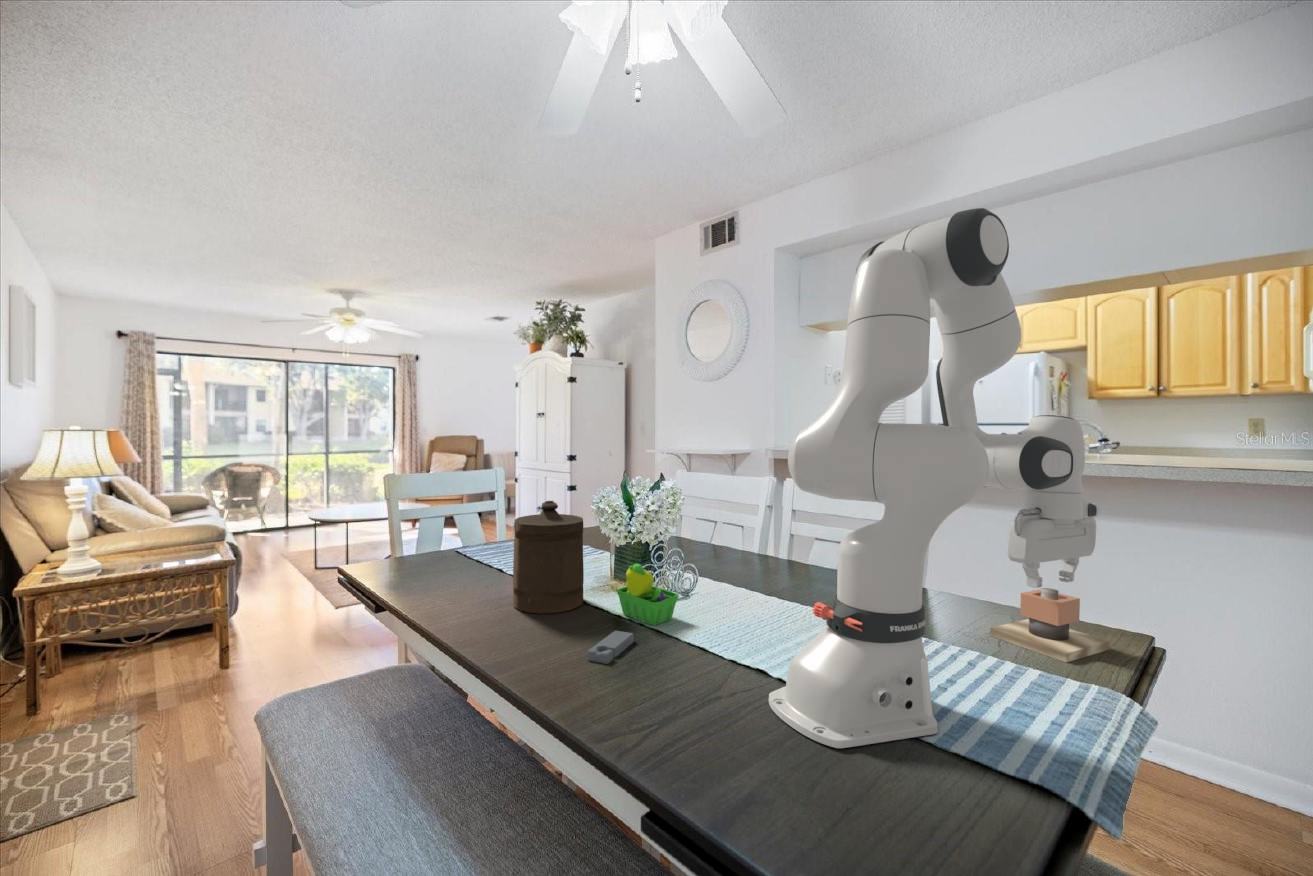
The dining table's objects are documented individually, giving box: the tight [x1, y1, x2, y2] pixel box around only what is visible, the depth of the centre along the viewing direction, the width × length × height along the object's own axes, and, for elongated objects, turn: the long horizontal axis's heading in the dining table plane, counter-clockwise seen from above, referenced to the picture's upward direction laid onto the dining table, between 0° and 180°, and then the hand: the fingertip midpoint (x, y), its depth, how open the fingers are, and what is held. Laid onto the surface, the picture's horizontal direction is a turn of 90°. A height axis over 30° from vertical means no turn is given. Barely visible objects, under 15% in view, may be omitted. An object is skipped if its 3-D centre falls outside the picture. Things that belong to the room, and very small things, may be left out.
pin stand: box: [989, 587, 1111, 663], centre depth 102 cm, size 13×13×10 cm
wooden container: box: [512, 500, 585, 615], centre depth 122 cm, size 15×15×22 cm
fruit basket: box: [616, 563, 680, 626], centre depth 114 cm, size 11×9×11 cm
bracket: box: [586, 630, 635, 665], centre depth 97 cm, size 4×10×2 cm, turn 158°
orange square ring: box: [1019, 588, 1081, 626], centre depth 102 cm, size 6×6×4 cm
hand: (1050, 584), depth 102 cm, fingers open, 8 cm apart
